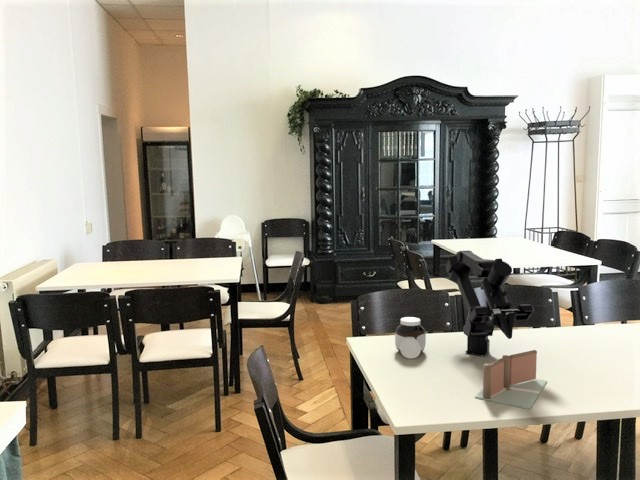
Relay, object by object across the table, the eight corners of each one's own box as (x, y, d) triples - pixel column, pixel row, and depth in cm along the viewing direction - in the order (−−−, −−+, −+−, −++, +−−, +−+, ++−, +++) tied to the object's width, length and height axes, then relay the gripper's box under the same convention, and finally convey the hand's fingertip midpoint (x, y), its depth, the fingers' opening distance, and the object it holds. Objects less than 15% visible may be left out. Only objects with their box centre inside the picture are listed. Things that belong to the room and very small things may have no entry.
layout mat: (475, 397, 146) (475, 396, 146) (497, 372, 165) (497, 371, 165) (530, 409, 138) (530, 408, 138) (546, 381, 157) (547, 380, 157)
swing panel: (505, 388, 151) (506, 358, 150) (500, 386, 153) (500, 355, 152) (537, 380, 156) (538, 350, 155) (532, 377, 158) (532, 348, 157)
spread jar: (415, 346, 191) (415, 315, 190) (435, 356, 181) (435, 322, 180) (387, 352, 186) (387, 319, 185) (405, 361, 176) (406, 327, 175)
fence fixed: (482, 398, 145) (482, 365, 144) (494, 383, 156) (495, 352, 155) (502, 403, 142) (503, 369, 141) (514, 387, 153) (515, 355, 152)
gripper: (513, 306, 176) (529, 348, 167) (459, 308, 174) (472, 352, 164) (526, 287, 167) (543, 331, 158) (469, 289, 165) (483, 334, 156)
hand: (510, 338), depth 159 cm, fingers closed
